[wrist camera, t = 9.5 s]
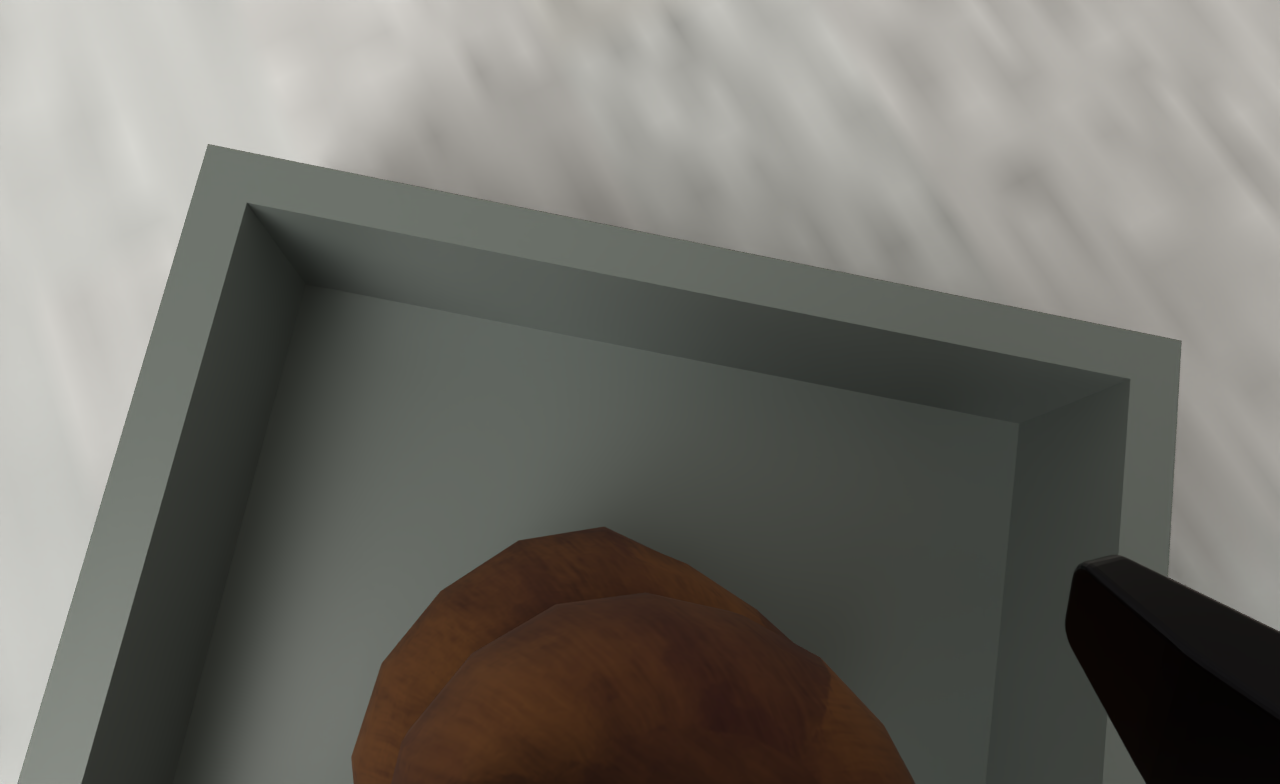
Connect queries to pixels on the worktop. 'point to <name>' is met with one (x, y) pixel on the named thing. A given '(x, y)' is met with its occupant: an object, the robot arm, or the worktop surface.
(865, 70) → the worktop surface
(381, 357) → the tote
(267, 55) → the worktop surface
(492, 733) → the wooden figurine
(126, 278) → the worktop surface
